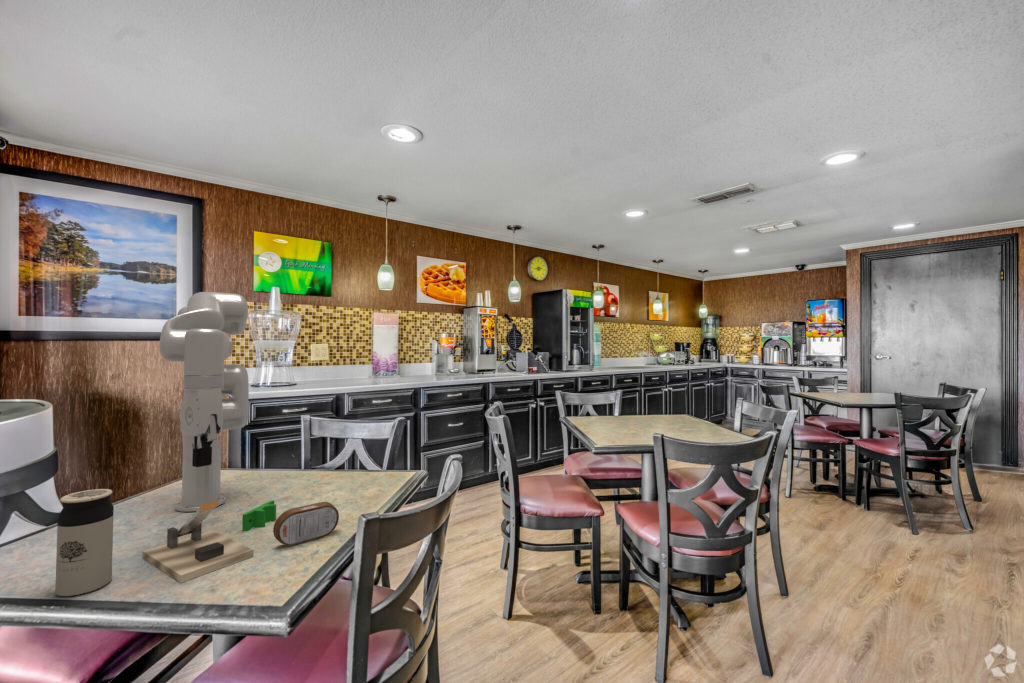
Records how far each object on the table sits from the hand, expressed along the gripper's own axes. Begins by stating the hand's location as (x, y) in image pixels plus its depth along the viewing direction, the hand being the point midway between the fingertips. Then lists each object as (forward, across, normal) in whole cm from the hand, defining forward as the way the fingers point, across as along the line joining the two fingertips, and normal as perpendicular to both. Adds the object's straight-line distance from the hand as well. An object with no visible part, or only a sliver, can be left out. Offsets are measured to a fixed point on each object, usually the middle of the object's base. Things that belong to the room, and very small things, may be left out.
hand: (202, 465), depth 100 cm
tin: (+21, +10, +20) cm, 30 cm away
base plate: (+21, -2, 0) cm, 21 cm away
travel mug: (+21, -6, -18) cm, 28 cm away
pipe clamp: (+21, -10, +19) cm, 30 cm away
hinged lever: (+13, -2, 0) cm, 13 cm away
